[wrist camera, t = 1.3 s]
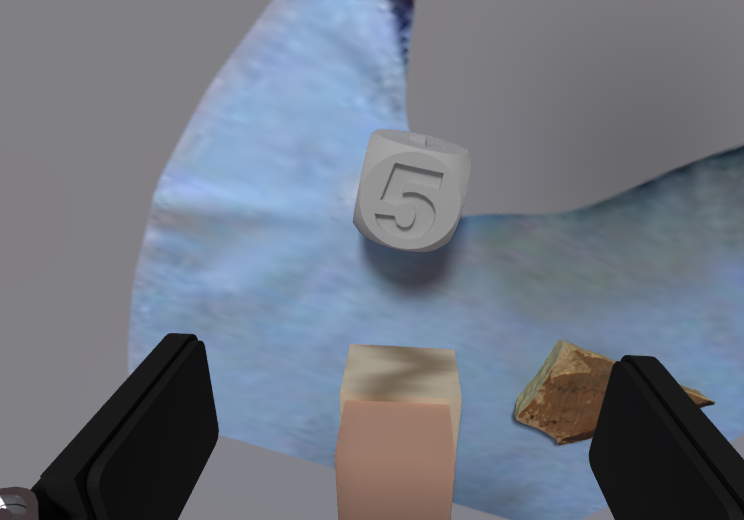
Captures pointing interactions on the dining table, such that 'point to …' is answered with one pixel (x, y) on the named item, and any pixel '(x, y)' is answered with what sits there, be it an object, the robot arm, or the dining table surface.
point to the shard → (571, 394)
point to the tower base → (403, 377)
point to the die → (411, 190)
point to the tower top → (394, 461)
